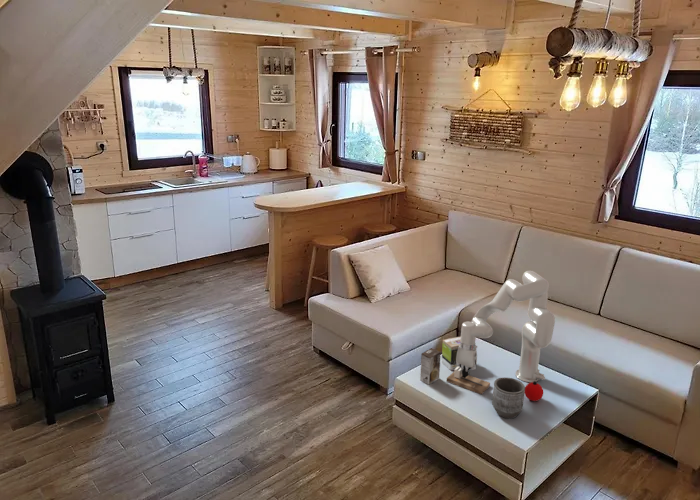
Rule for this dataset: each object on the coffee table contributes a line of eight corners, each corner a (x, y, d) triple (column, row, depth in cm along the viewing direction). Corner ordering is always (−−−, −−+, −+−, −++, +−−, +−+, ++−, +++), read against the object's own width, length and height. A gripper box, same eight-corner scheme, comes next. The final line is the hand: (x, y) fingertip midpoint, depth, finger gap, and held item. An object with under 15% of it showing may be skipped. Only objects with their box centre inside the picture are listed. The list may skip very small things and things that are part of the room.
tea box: (463, 358, 301) (465, 334, 297) (473, 366, 292) (475, 342, 288) (440, 362, 296) (442, 338, 292) (450, 370, 287) (451, 346, 283)
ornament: (520, 399, 261) (522, 381, 258) (528, 392, 267) (530, 375, 264) (537, 406, 255) (539, 388, 252) (545, 399, 261) (547, 382, 258)
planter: (493, 401, 259) (496, 374, 255) (523, 407, 254) (526, 380, 250) (489, 417, 247) (492, 389, 243) (520, 424, 242) (523, 396, 237)
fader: (462, 375, 278) (463, 367, 277) (459, 378, 275) (459, 370, 274) (457, 373, 280) (458, 365, 279) (453, 376, 277) (454, 368, 276)
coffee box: (429, 374, 284) (431, 347, 279) (439, 378, 279) (441, 351, 275) (419, 380, 278) (420, 353, 273) (429, 385, 273) (430, 357, 269)
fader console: (489, 386, 273) (490, 382, 272) (481, 394, 265) (482, 390, 265) (455, 373, 284) (455, 370, 284) (446, 381, 277) (446, 377, 276)
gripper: (484, 346, 268) (481, 378, 273) (457, 338, 277) (455, 369, 282) (477, 352, 262) (474, 384, 268) (451, 343, 271) (448, 374, 276)
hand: (464, 376), depth 275 cm, fingers closed
